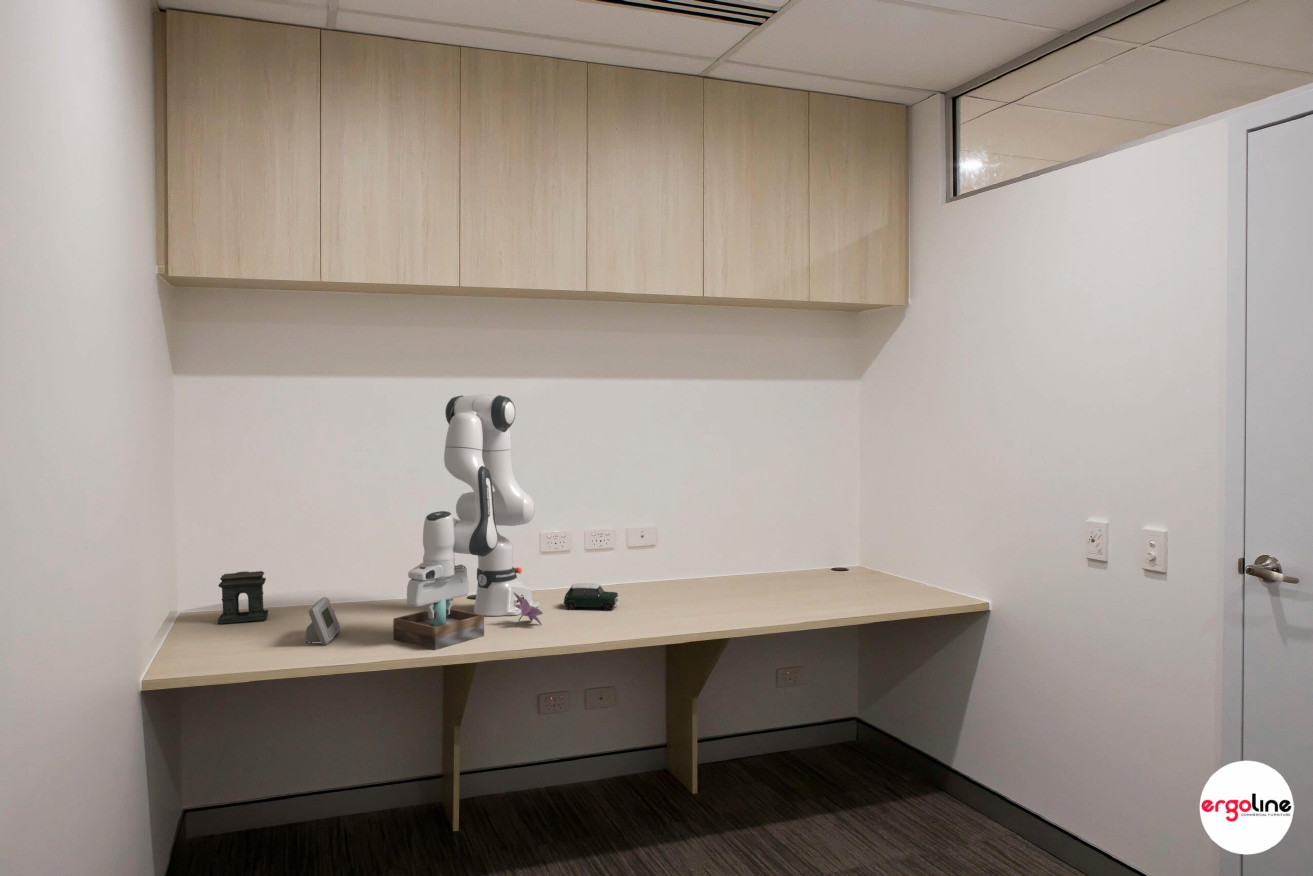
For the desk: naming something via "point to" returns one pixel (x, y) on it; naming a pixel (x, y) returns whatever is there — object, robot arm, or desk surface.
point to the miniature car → (589, 597)
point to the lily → (527, 609)
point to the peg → (440, 613)
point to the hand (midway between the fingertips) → (439, 616)
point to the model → (233, 588)
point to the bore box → (438, 629)
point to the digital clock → (322, 623)
